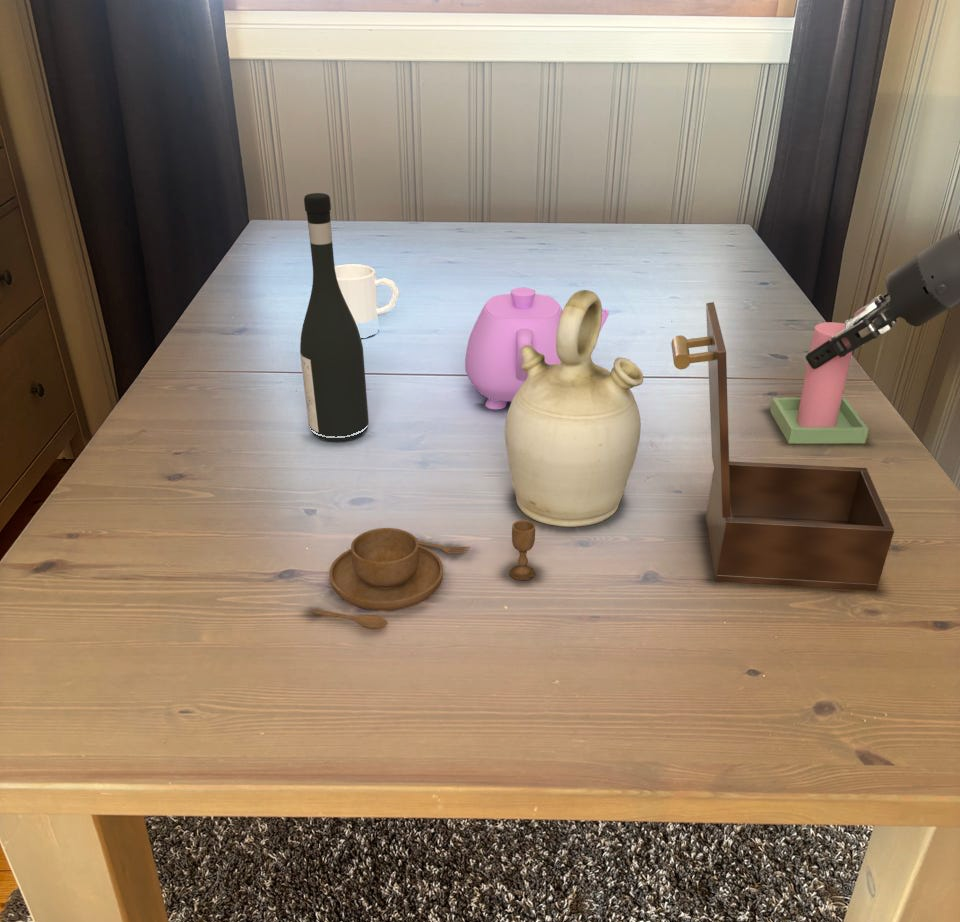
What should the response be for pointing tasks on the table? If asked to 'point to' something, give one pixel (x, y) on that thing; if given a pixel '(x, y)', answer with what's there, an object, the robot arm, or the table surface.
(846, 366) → the tube
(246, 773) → the table surface
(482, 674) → the table surface
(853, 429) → the tray
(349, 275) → the mug
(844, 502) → the chest
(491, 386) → the teapot
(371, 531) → the place setting
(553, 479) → the jug
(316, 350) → the wine bottle
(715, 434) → the chest lid
